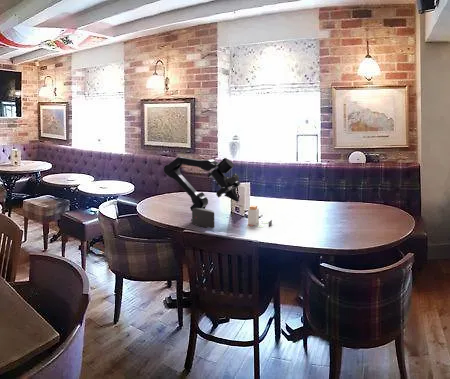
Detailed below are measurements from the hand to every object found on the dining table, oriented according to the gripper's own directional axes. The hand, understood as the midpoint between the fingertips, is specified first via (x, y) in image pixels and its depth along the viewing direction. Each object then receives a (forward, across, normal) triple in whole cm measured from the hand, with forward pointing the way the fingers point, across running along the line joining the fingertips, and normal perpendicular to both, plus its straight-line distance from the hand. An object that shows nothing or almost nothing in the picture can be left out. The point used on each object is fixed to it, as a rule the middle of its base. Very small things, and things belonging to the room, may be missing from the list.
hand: (238, 201), depth 216 cm
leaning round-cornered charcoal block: (0, -13, +19) cm, 23 cm away
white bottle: (+14, 0, +1) cm, 14 cm away
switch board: (+16, 0, +1) cm, 17 cm away
